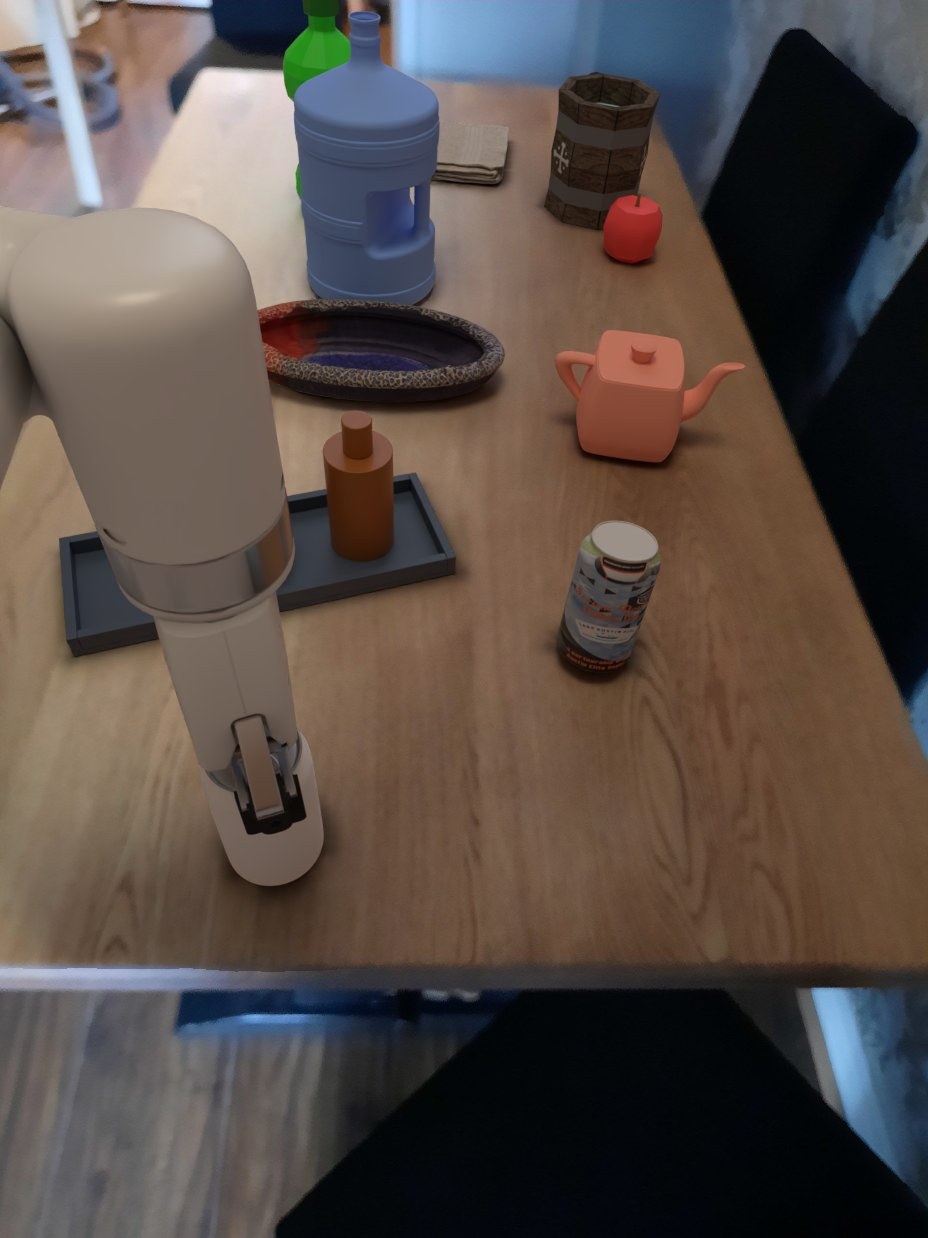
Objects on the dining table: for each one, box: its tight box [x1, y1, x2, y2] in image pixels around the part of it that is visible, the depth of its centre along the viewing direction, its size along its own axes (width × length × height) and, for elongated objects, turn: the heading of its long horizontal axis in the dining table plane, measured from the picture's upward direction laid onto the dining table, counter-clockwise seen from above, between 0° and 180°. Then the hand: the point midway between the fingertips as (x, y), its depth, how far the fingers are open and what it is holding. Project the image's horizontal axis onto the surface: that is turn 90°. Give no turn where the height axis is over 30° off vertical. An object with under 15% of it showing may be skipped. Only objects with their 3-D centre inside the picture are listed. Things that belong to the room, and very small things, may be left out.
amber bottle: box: [322, 410, 394, 562], centre depth 71 cm, size 6×6×13 cm
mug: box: [543, 71, 661, 231], centre depth 119 cm, size 20×14×15 cm
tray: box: [58, 472, 457, 657], centre depth 73 cm, size 32×12×2 cm, turn 109°
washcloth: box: [431, 121, 510, 185], centre depth 130 cm, size 12×18×3 cm, turn 176°
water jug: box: [293, 10, 441, 306], centre depth 95 cm, size 16×16×28 cm
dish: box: [257, 298, 506, 403], centre depth 92 cm, size 16×31×5 cm, turn 84°
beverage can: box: [556, 520, 662, 674], centre depth 66 cm, size 6×7×12 cm
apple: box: [602, 193, 664, 265], centre depth 111 cm, size 8×8×8 cm
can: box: [199, 724, 325, 887], centre depth 53 cm, size 6×6×12 cm
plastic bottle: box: [282, 0, 351, 201], centre depth 108 cm, size 10×10×25 cm
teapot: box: [554, 329, 746, 463], centre depth 85 cm, size 12×18×10 cm, turn 81°
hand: (259, 748), depth 49 cm, fingers open, 9 cm apart
